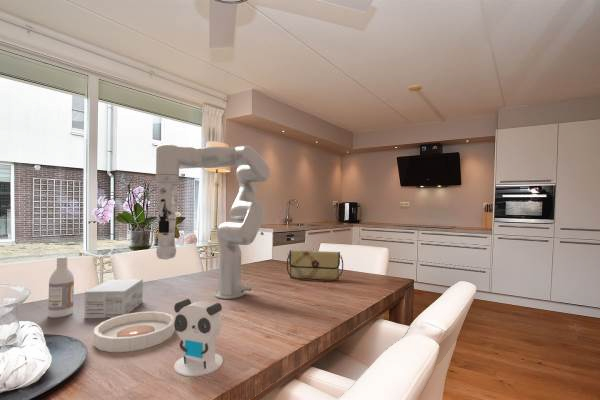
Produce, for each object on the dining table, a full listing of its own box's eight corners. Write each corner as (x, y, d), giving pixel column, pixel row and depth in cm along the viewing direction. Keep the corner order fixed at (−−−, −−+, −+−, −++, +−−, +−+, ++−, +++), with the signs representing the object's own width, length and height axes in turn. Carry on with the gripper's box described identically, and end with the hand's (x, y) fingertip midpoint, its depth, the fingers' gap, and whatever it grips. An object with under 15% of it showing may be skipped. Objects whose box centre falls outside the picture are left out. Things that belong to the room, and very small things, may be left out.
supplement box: (107, 303, 124) (108, 279, 125) (142, 302, 126) (143, 278, 126) (83, 318, 108) (83, 291, 108) (124, 317, 109) (124, 290, 109)
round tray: (181, 321, 106) (181, 310, 106) (163, 349, 85) (163, 336, 85) (113, 323, 103) (114, 312, 103) (78, 353, 82) (78, 340, 82)
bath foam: (70, 316, 109) (72, 258, 109) (45, 319, 106) (47, 259, 106) (74, 310, 115) (76, 255, 116) (51, 312, 112) (52, 256, 112)
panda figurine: (161, 369, 75) (162, 306, 75) (193, 349, 86) (194, 293, 86) (203, 380, 71) (204, 313, 71) (231, 357, 82) (232, 299, 82)
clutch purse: (285, 280, 165) (285, 251, 165) (287, 277, 172) (288, 249, 172) (343, 283, 161) (343, 253, 161) (343, 279, 168) (343, 251, 168)
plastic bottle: (156, 261, 106) (157, 201, 106) (155, 258, 112) (156, 201, 112) (177, 260, 109) (178, 201, 109) (175, 256, 115) (175, 201, 115)
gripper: (172, 178, 103) (171, 234, 103) (184, 182, 120) (183, 229, 120) (147, 178, 102) (146, 234, 102) (163, 181, 119) (162, 229, 119)
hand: (166, 231), depth 111 cm, fingers closed on plastic bottle, 6 cm apart
